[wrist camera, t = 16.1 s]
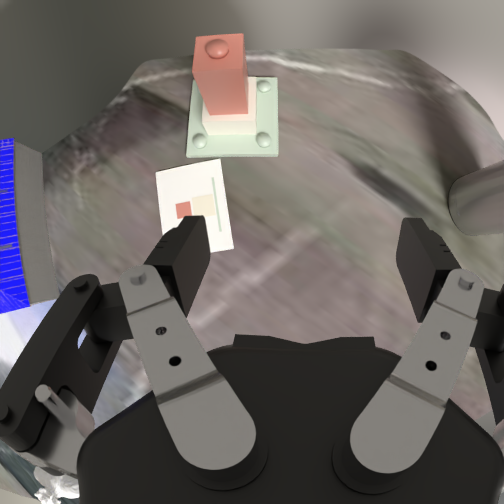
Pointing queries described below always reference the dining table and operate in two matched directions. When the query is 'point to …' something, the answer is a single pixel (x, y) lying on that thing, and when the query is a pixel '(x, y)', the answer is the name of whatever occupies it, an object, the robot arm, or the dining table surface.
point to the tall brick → (222, 73)
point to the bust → (55, 487)
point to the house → (23, 230)
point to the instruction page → (196, 200)
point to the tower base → (237, 142)
